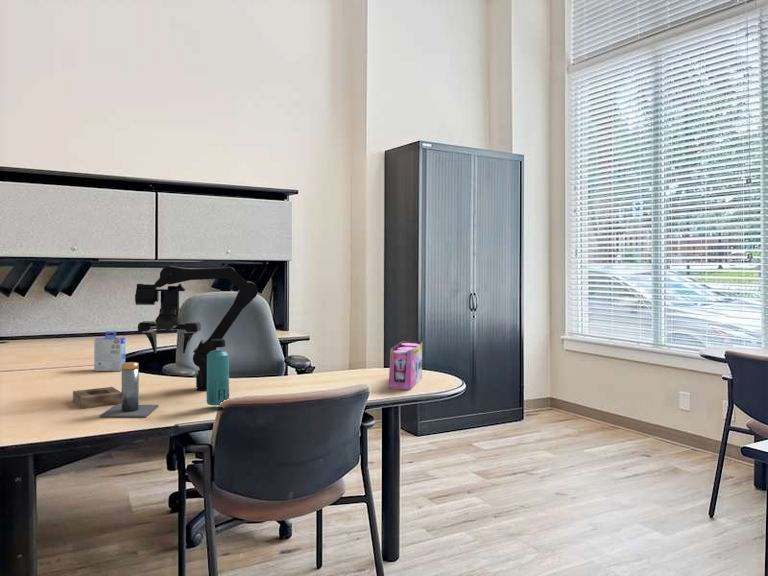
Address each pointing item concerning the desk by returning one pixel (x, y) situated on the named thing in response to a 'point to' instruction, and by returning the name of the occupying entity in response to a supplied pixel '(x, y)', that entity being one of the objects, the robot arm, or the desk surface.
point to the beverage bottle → (217, 374)
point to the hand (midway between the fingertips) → (169, 353)
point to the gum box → (405, 365)
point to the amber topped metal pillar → (130, 386)
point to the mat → (118, 413)
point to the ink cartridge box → (109, 352)
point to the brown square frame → (97, 397)
